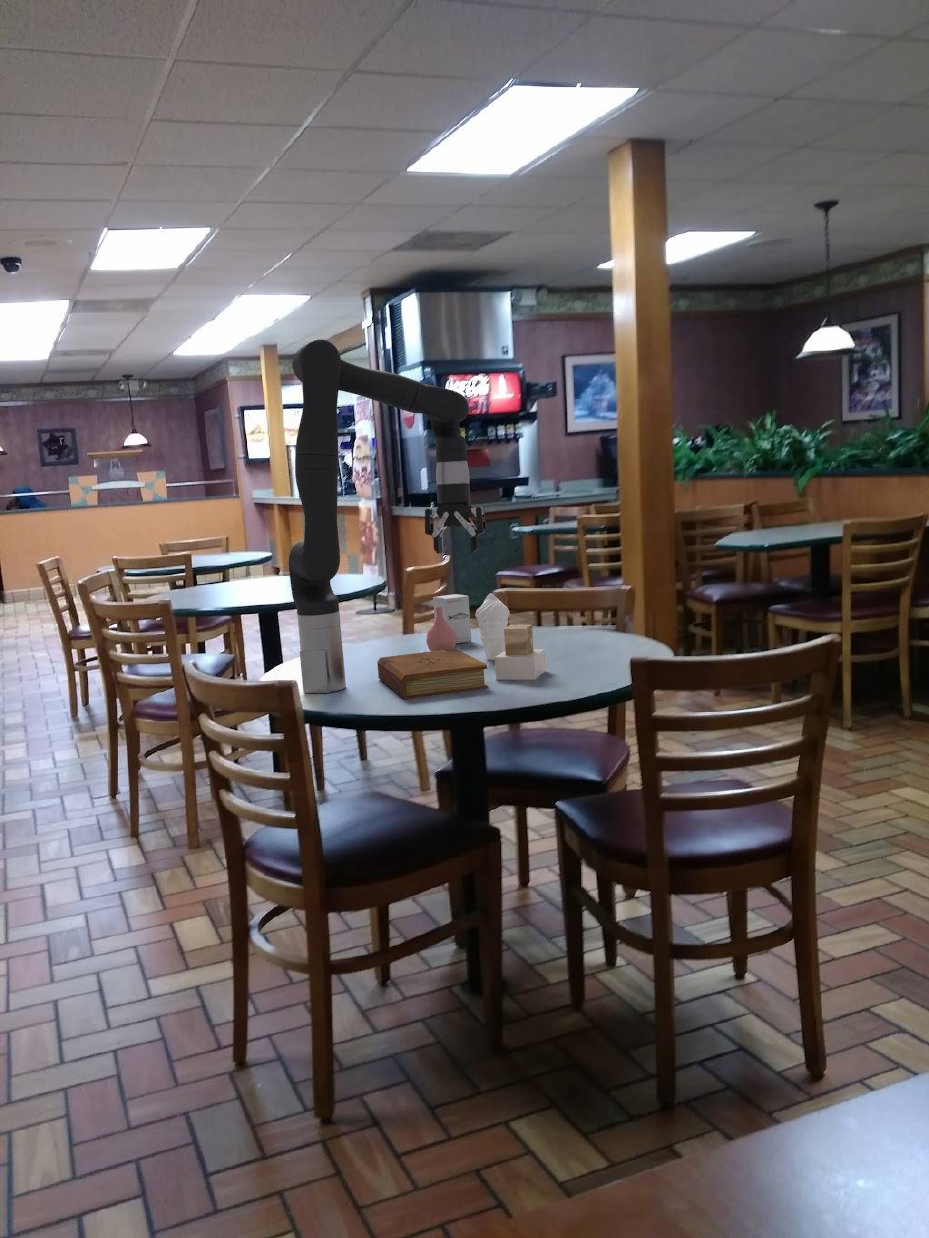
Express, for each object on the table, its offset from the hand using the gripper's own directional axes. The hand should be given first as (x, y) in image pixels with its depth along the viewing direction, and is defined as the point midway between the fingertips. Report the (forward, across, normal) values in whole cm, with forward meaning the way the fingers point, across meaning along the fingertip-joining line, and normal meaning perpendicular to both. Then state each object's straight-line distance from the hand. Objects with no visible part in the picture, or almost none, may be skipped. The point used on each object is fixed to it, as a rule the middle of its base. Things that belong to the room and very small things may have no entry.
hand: (456, 552), depth 235 cm
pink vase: (+27, -12, +18) cm, 35 cm away
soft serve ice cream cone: (+27, +4, +12) cm, 30 cm away
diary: (+28, -1, -16) cm, 32 cm away
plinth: (+27, +16, -6) cm, 32 cm away
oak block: (+22, +16, -6) cm, 28 cm away
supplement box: (+27, -16, +35) cm, 47 cm away
